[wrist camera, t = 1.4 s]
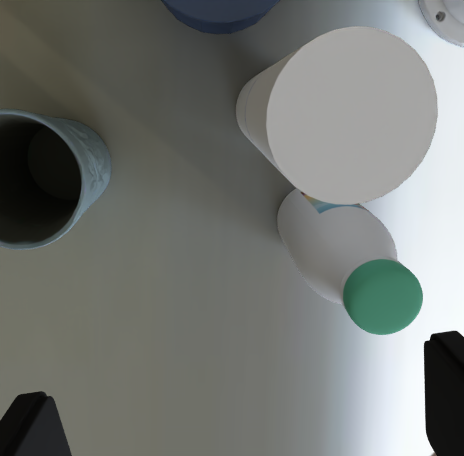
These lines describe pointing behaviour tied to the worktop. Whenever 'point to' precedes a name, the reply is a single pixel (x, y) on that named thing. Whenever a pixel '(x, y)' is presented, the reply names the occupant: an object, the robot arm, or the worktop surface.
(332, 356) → the worktop surface
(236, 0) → the pot lid
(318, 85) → the cylindrical container
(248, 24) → the pot
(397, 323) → the milk bottle
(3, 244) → the grey green cup
